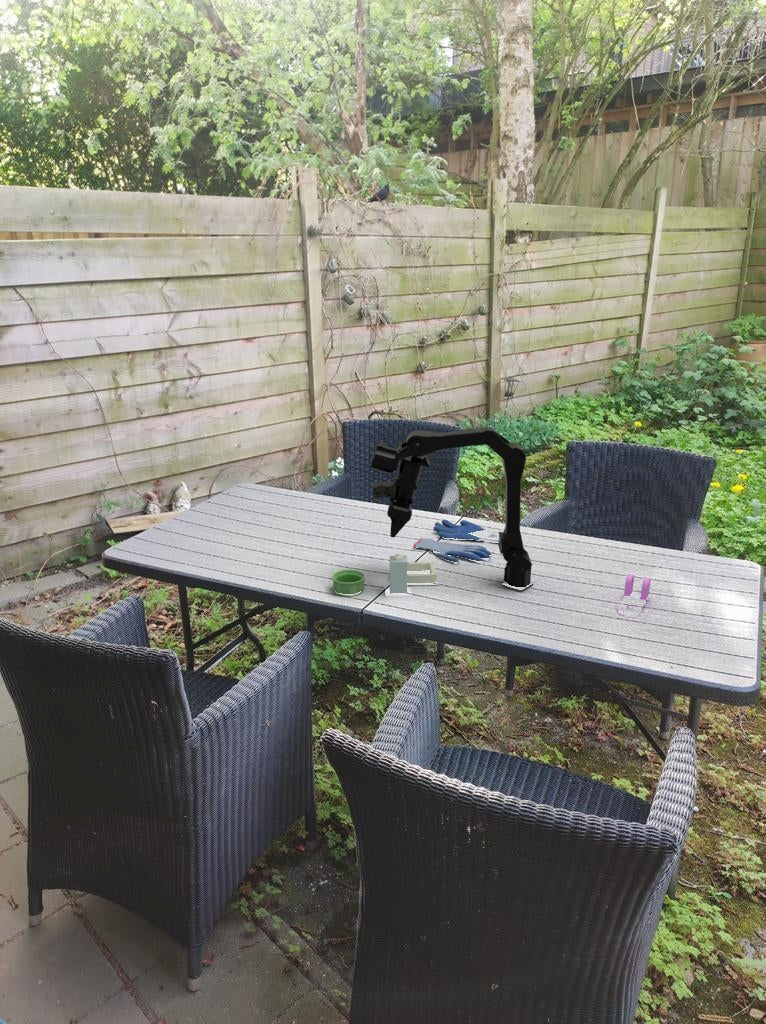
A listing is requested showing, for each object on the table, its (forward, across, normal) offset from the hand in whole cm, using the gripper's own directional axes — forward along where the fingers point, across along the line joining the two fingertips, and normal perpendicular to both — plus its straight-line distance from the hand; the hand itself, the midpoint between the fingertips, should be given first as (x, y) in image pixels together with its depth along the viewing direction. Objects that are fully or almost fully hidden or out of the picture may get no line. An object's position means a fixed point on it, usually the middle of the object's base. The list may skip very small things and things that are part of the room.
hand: (392, 530), depth 193 cm
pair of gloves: (+11, -30, +24) cm, 40 cm away
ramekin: (+18, +5, -8) cm, 21 cm away
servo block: (+15, +6, +6) cm, 17 cm away
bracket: (0, +12, +64) cm, 66 cm away
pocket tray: (+14, -3, +10) cm, 17 cm away
